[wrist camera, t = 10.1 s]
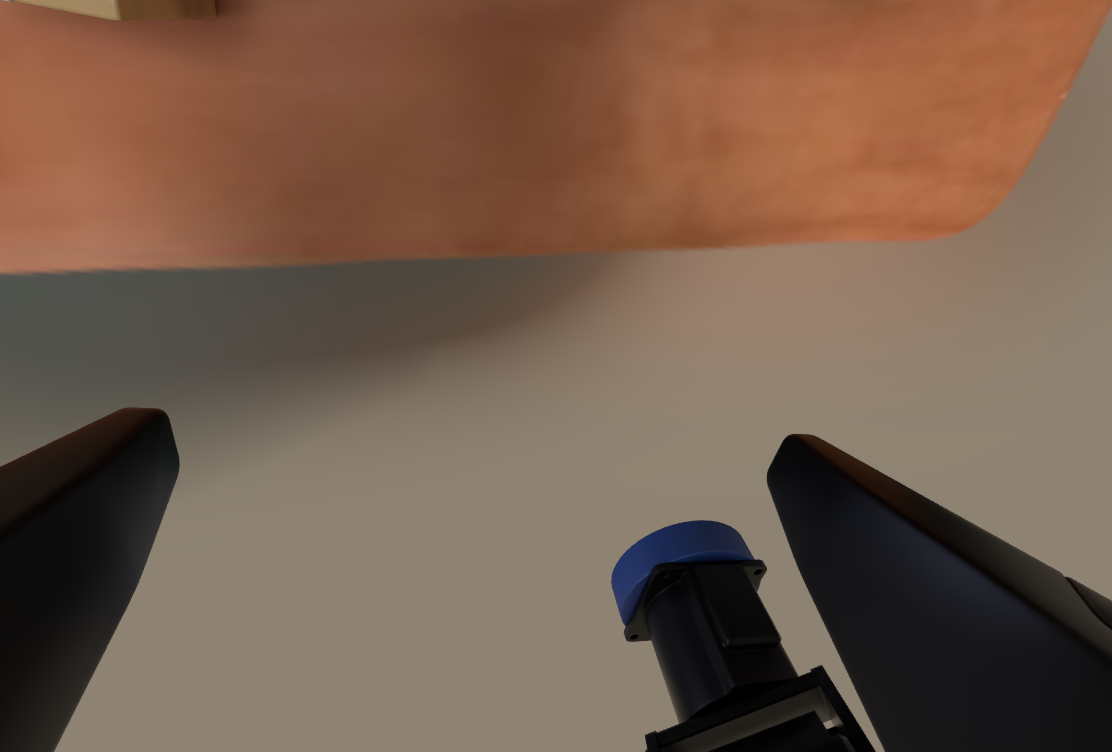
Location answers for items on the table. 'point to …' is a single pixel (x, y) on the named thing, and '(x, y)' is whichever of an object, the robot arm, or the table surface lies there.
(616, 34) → the table surface
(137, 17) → the package
